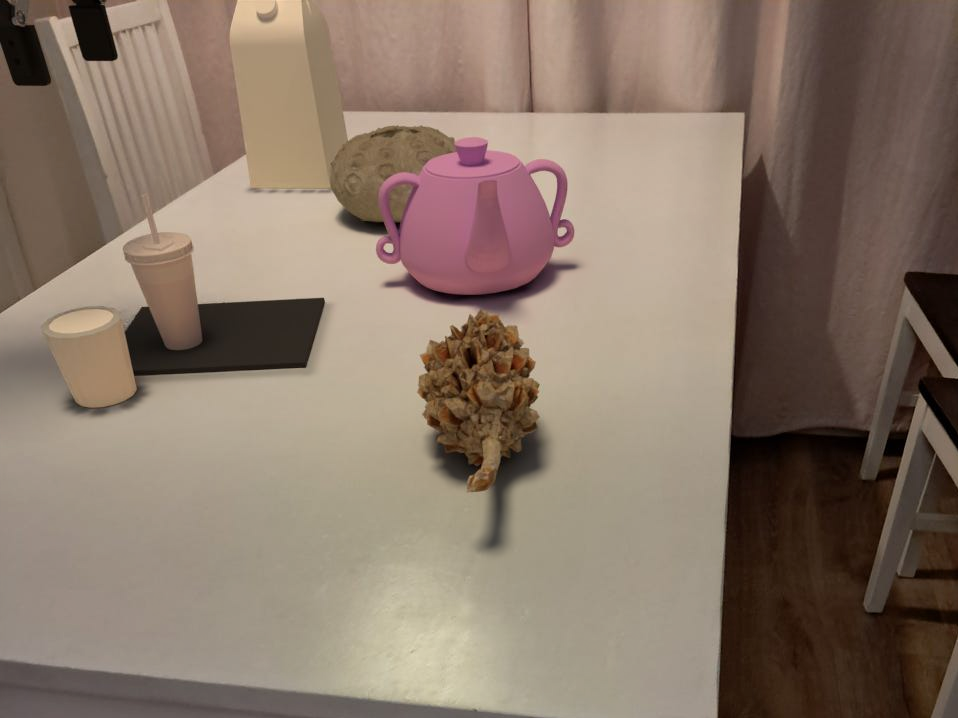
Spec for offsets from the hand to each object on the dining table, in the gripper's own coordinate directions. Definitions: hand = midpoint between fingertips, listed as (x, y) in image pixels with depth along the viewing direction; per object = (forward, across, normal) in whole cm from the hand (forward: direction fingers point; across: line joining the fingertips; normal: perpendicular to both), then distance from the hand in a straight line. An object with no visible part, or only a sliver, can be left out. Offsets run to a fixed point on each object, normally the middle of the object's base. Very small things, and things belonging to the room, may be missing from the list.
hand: (68, 72), depth 77 cm
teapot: (+24, -22, +29) cm, 43 cm away
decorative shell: (+24, -44, +12) cm, 52 cm away
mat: (+24, -4, +6) cm, 25 cm away
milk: (+24, -59, -9) cm, 64 cm away
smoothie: (+24, -1, +3) cm, 24 cm away
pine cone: (+24, +16, +39) cm, 49 cm away
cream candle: (+24, +10, +1) cm, 26 cm away
